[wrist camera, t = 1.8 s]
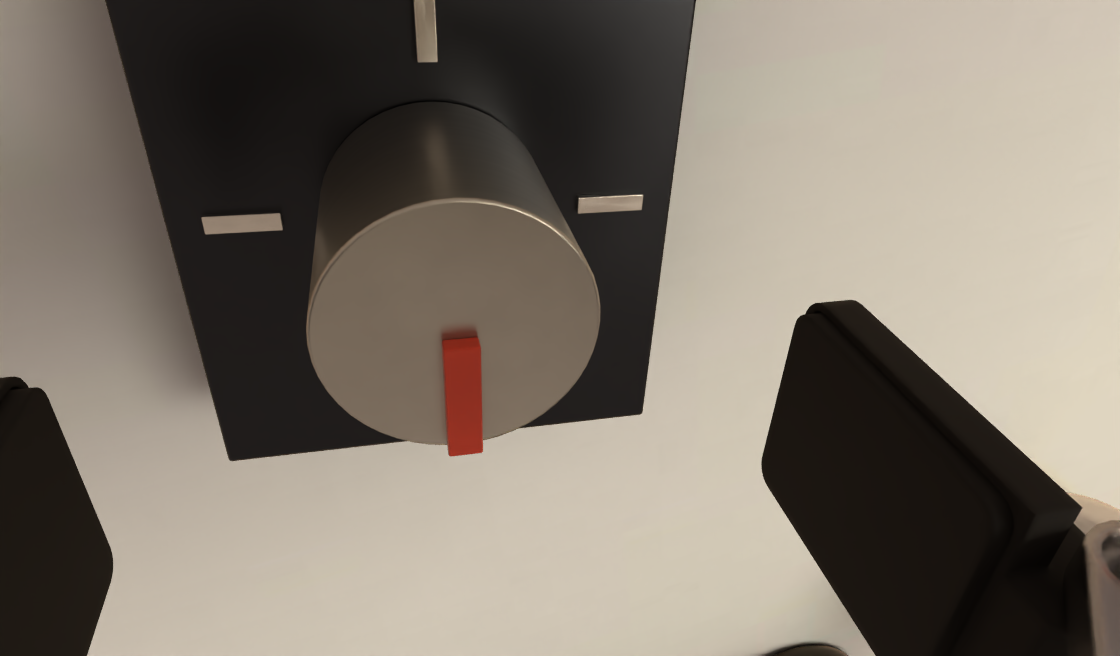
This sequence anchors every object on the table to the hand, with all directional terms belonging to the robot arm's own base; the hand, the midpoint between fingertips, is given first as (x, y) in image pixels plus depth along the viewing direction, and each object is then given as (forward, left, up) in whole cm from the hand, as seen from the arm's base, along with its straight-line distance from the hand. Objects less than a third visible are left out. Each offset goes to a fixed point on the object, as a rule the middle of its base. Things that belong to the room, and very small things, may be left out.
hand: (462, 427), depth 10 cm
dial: (0, 0, -6) cm, 6 cm away
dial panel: (0, 0, -10) cm, 10 cm away
